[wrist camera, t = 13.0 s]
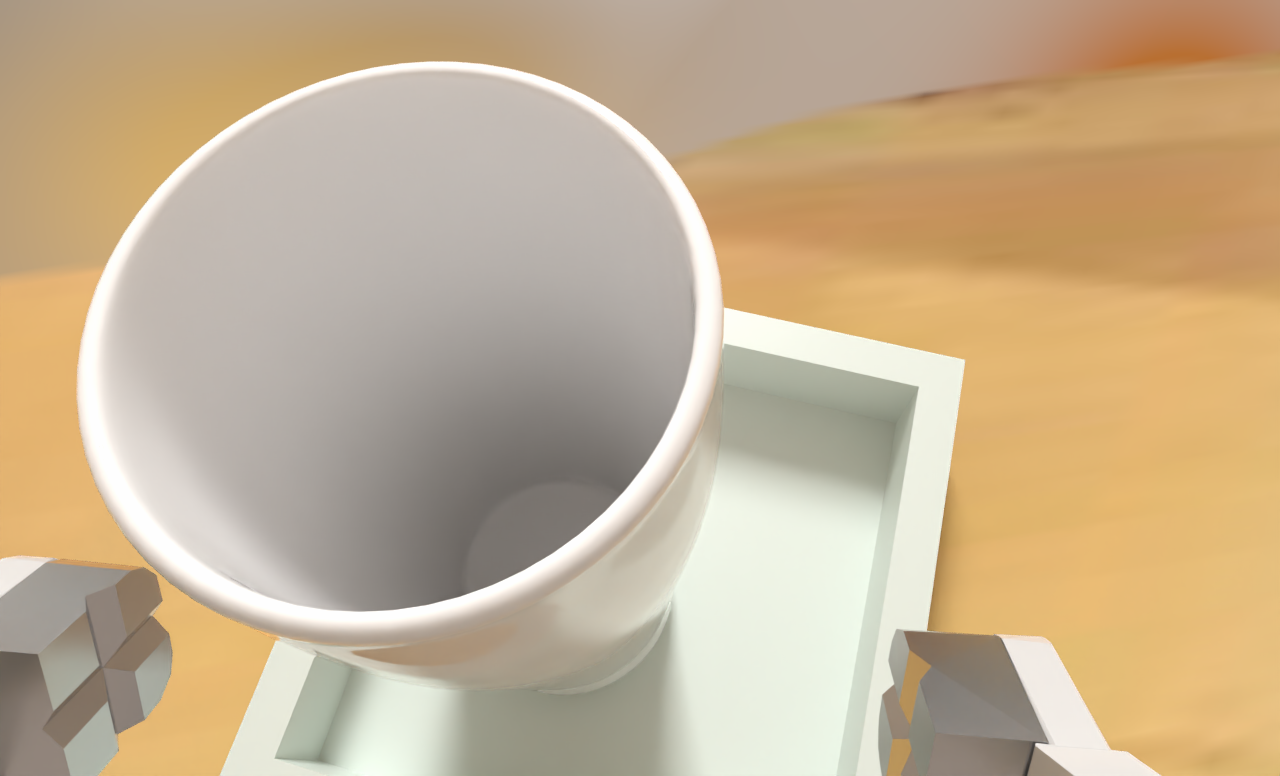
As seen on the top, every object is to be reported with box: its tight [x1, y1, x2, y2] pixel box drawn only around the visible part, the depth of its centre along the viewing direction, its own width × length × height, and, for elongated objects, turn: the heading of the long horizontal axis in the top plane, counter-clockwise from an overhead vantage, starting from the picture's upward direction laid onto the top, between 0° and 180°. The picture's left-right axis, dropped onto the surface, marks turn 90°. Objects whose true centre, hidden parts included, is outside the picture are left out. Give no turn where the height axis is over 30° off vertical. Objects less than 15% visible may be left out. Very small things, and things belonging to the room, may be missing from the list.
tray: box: [220, 308, 965, 776], centre depth 22 cm, size 14×14×3 cm
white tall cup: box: [77, 62, 724, 695], centre depth 16 cm, size 7×7×15 cm
